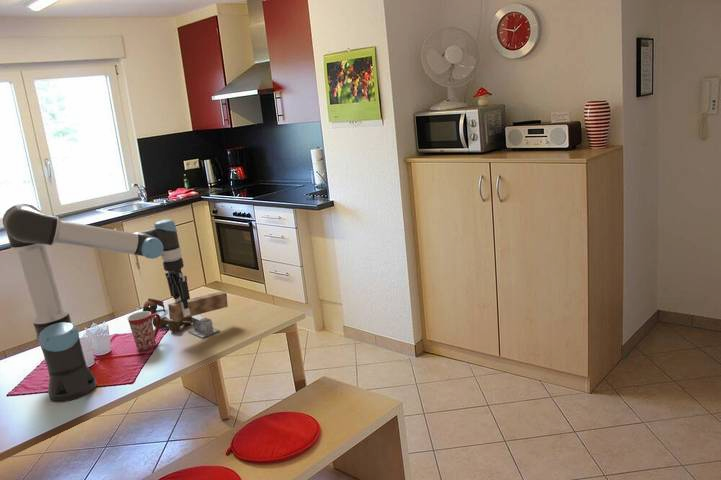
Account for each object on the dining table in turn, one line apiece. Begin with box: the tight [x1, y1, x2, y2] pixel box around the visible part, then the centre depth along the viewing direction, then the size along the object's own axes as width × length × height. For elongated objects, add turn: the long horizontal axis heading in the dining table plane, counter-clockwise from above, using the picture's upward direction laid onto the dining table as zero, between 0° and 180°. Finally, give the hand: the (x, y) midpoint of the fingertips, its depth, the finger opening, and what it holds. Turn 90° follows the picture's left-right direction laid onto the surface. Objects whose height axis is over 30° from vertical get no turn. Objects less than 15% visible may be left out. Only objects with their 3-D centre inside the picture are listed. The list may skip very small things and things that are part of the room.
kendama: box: [152, 316, 193, 333], centre depth 252 cm, size 6×10×20 cm
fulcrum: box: [187, 314, 221, 339], centre depth 243 cm, size 8×12×6 cm, turn 44°
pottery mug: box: [142, 297, 165, 315], centre depth 273 cm, size 12×10×8 cm
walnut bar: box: [167, 291, 229, 321], centre depth 241 cm, size 24×4×6 cm, turn 134°
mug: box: [126, 310, 162, 351], centre depth 236 cm, size 13×9×14 cm
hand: (184, 314), depth 237 cm, fingers closed on walnut bar, 4 cm apart
